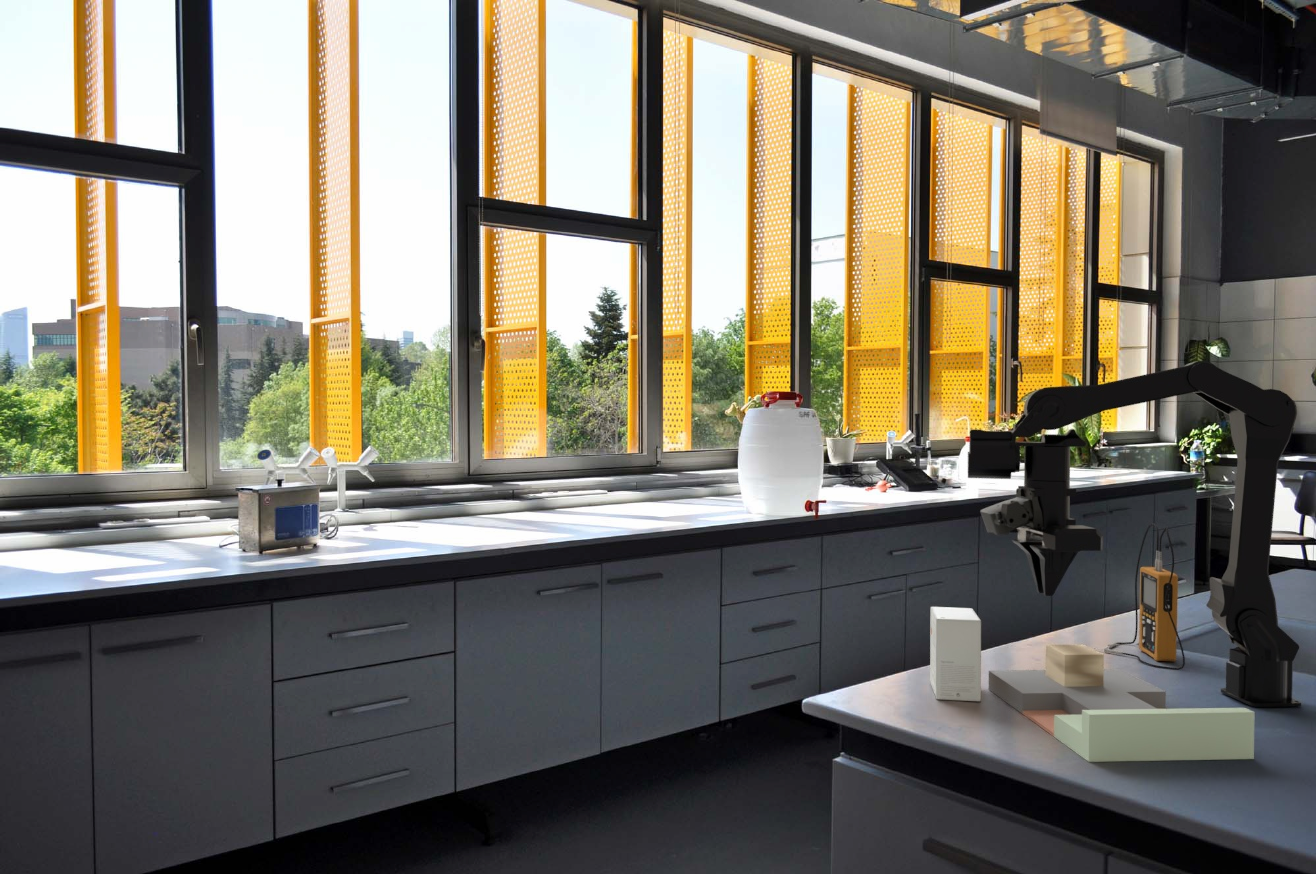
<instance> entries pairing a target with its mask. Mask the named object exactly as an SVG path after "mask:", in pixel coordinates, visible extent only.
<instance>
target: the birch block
mask: <svg viewBox="0 0 1316 874" xmlns="http://www.w3.org/2000/svg"><path fill="white" fill-rule="evenodd" d="M1104 664H1105V654H1104V653H1102V652H1100V651H1098V650H1097V649H1094V648H1093V647H1090V646H1087V645H1085V644H1082V643H1081V644H1079V643H1077V644H1045V670H1046V674H1045V675H1046V676H1047V677H1049V678H1051V679H1052V680H1054V681H1056V682H1057V683H1059V684H1061V685H1062V686H1064V687H1079V686H1103V680H1104V669H1105V668H1104V666H1105V665H1104Z"/></svg>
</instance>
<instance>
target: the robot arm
mask: <svg viewBox="0 0 1316 874" xmlns="http://www.w3.org/2000/svg"><path fill="white" fill-rule="evenodd" d="M1191 393H1192V394H1194V395H1196V396H1198V398H1200V399H1202V400H1204V401H1205V402H1206V403H1208V404H1210V405H1211V407H1212V406H1213V408H1215V409H1217V410H1219V411H1220V412H1222V413H1224V414H1226V415H1228V416H1229V425H1230V426H1229V427H1230V433H1231V436H1230V437H1231V440H1232V444H1233V446H1234V450H1235V453H1236V460H1237V464H1236V465H1237V466H1236V475H1235V476H1236V477H1235V487H1234V489H1235V490H1234V499H1233V512H1232V523H1231V532H1230V533H1231V534H1230V543H1229V545H1230V546H1229V547H1230V548H1229V555H1228V556H1229V557H1228V564H1227V566H1226V567H1227V568H1226V569H1225V570H1224V571H1225V572H1224V573H1223V576H1222V577H1221V578H1216V577H1213V576H1211V577H1210V578H1209V589H1210V592H1209V593H1210V596H1209V598H1208V602H1207V603H1206V605H1205V606H1206V608H1208V609H1209V610H1211V616H1212V618H1213V621H1214V622H1215V623H1216V625H1217V626H1219V628H1220V629H1222V630H1223V631H1224V632H1225V633H1227V635H1228V639H1229V641H1230V642H1231V644H1234V645H1235V646H1236V647H1234V648H1229V651H1228V652H1229V656H1228V657H1229V659H1228V660H1226V664H1225V669H1226V670H1225V687H1221V688H1220V693H1222V694H1224V695H1225V696H1227V697H1231V698H1233V699H1235V700H1237V701H1239V702H1241V703H1244V704H1245V705H1248V706H1251V707H1258V708H1263V707H1265V708H1267V707H1268V708H1269V707H1273V708H1274V707H1279V708H1280V707H1301V706H1302V705H1303V704H1302V701H1299V700H1297V699H1296V698H1293V682H1294V681H1293V678H1294V677H1293V676H1294V675H1293V674H1294V672H1293V671H1294V669H1293V668H1294V660H1295V659H1296V656H1297V653H1298V651H1299V650H1300V645H1299V644H1298V643H1297V642H1296V641H1295V640H1294V639H1293V638H1292V637H1291V636H1290V635H1288V634H1287V633H1286V632H1285V631H1284V630H1283V629H1282V628H1281V627H1280V626H1278V625H1279V620H1278V619H1279V618H1278V610H1277V602H1276V596H1275V593H1274V589H1273V586H1272V582H1271V578H1270V574H1269V569H1270V568H1269V566H1270V554H1271V544H1272V536H1273V535H1272V533H1273V522H1274V510H1275V499H1276V487H1277V480H1278V479H1277V477H1278V467H1279V462H1280V459H1281V457H1282V455H1283V453H1284V451H1285V449H1286V447H1287V445H1288V443H1289V442H1290V439H1291V437H1292V432H1293V429H1294V426H1295V422H1296V420H1297V414H1298V410H1297V404H1296V402H1295V400H1293V398H1292V397H1290V396H1289V395H1288V394H1287V393H1286V392H1284V391H1281V390H1279V389H1274V388H1268V389H1263V388H1261V387H1259V386H1257V385H1255V384H1254V383H1252V382H1250V381H1247V380H1246V379H1243V378H1241V377H1238V376H1236V375H1234V374H1232V373H1229V372H1227V371H1226V370H1223V369H1221V368H1219V367H1218V366H1217V365H1215V364H1213V363H1212V362H1211V361H1208V360H1207V361H1206V360H1201V361H1199V360H1198V361H1193V362H1190V363H1186V364H1185V365H1182V366H1180V367H1174V368H1170V369H1165V370H1160V371H1155V372H1151V373H1146V374H1142V375H1136V376H1134V377H1128V378H1123V379H1118V380H1114V381H1109V382H1105V383H1099V384H1089V385H1063V386H1049V387H1048V386H1047V387H1043V388H1040V389H1037V390H1034V391H1033V392H1031V393H1030V394H1029V395H1028V397H1027V398H1026V400H1025V402H1024V405H1023V415H1022V416H1021V417H1019V419H1018V420H1017V422H1016V423H1015V424H1012V428H1011V429H1010V430H983V429H976V428H975V429H970V430H969V445H968V446H969V447H968V448H969V449H968V450H969V451H967V478H968V479H995V480H996V479H997V480H1000V479H1001V480H1002V479H1003V480H1011V478H1012V474H1013V473H1016V472H1017V473H1018V472H1020V469H1021V447H1024V462H1023V463H1024V468H1023V469H1024V471H1023V474H1024V476H1023V477H1024V479H1023V481H1024V482H1023V485H1018V488H1016V491H1015V497H1013V498H1010V499H1007V500H1006V499H1005V500H1004V501H1001V502H997V503H995V504H993V505H990V506H987V507H985V508H982V509H980V511H979V512H980V515H981V517H982V520H983V524H984V526H985V529H986V533H988V534H994V535H995V536H997V537H998V536H1004V535H1005V536H1006V535H1007V536H1008V535H1009V534H1010V533H1017V538H1015V539H1011V542H1012V543H1014V544H1015V545H1017V546H1018V547H1019V548H1020V550H1022V551H1023V552H1024V553H1025V554H1026V555H1025V556H1026V558H1027V561H1028V564H1029V567H1030V571H1031V574H1032V578H1033V580H1034V585H1035V587H1036V591H1037V593H1039V594H1043V596H1046V597H1053V596H1054V595H1055V593H1056V592H1057V589H1058V588H1059V586H1060V584H1061V582H1062V580H1063V578H1064V576H1065V574H1066V573H1067V571H1068V569H1069V568H1070V566H1071V565H1072V563H1073V562H1074V559H1075V558H1076V556H1077V555H1078V554H1079V553H1081V552H1082V551H1083V552H1087V551H1089V552H1090V551H1095V552H1096V551H1104V549H1103V547H1104V546H1103V545H1104V536H1103V534H1102V533H1101V532H1100V531H1099V530H1098V529H1097V528H1095V527H1091V526H1087V525H1082V524H1081V525H1080V524H1078V525H1077V524H1076V523H1077V520H1076V519H1074V518H1070V503H1071V501H1070V497H1077V488H1075V487H1074V488H1073V487H1071V486H1070V485H1071V484H1070V483H1071V482H1070V480H1071V477H1070V475H1071V469H1070V468H1071V448H1085V447H1086V446H1087V442H1086V441H1085V440H1084V439H1082V438H1081V437H1080V436H1079V434H1078V432H1077V431H1076V430H1075V429H1074V428H1073V429H1072V428H1070V429H1069V430H1068V431H1067V432H1066V433H1065V434H1057V433H1056V434H1051V433H1050V434H1047V433H1046V434H1045V433H1044V434H1042V435H1041V441H1017V438H1031V437H1033V436H1034V435H1036V434H1037V433H1040V432H1041V431H1042V430H1044V431H1045V430H1046V431H1052V430H1053V431H1054V430H1055V431H1056V430H1058V429H1060V428H1064V427H1067V426H1069V425H1072V424H1074V423H1076V422H1079V421H1082V420H1084V419H1087V418H1089V417H1092V416H1093V415H1096V414H1099V413H1102V412H1104V411H1105V412H1106V411H1108V410H1110V411H1111V410H1114V409H1118V408H1123V407H1129V406H1134V405H1137V404H1138V405H1139V404H1144V403H1148V402H1153V401H1157V400H1163V399H1167V398H1173V397H1176V396H1177V397H1178V396H1181V395H1189V394H1191Z"/></svg>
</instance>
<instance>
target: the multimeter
mask: <svg viewBox="0 0 1316 874" xmlns="http://www.w3.org/2000/svg"><path fill="white" fill-rule="evenodd" d="M1152 526H1154V527H1155V529H1156V551H1155V552H1156V555H1155V560H1154V566H1142V567H1140V569H1139V565H1140V562H1141V561H1140V560H1141V555H1142V552H1143V551H1142V550H1143V547H1144V544H1145V542H1146V541H1145V540H1146V538H1147V535H1148V533H1149V531H1150V528H1151V527H1152ZM1165 532H1166V536H1167V539H1168V543H1169V546H1170V552H1171V559H1172V560H1171V561H1172V563H1171V565H1172V566H1171V571H1170V570H1168V569H1167V570H1166V569H1164V568H1163V559H1162V557H1163V555H1162V553H1163V552H1162V538H1163V536H1164V534H1165ZM1159 533H1160V532H1159V528H1158V525H1157V524H1155V523H1151V524H1149V525H1148V527H1147V528H1146V529H1145V533H1144V536H1143V539H1142V542H1141V545H1140V548H1139V553H1138V558H1137V564H1136V569H1135V578H1134V600H1135V601H1134V604H1135V632H1134V638H1133V640H1132V641H1130V642H1129V641H1127V642H1126V641H1125V642H1112V643H1111V644H1107V646H1106V647H1105V648H1099V647H1098V648H1097V647H1093V649H1094V650H1097V651H1098V650H1100V651H1104V653H1110V654H1116V655H1122V656H1123V655H1124V656H1129V657H1134V658H1137V660H1138V661H1139V662H1141V663H1142V664H1144V665H1148V666H1150V667H1154V668H1161V669H1166V670H1178V671H1179V670H1183V669H1184V667H1185V664H1186V660H1185V653H1184V647H1183V645H1182V642H1181V639H1180V637H1179V633H1178V597H1179V596H1178V593H1179V592H1178V589H1179V588H1178V586H1179V577H1178V575H1177V574H1176V573H1174V569H1175V554H1174V549H1173V544H1172V541H1171V537H1170V534H1169V526H1166V527H1165V528H1164V529H1163V530H1162V532H1161V534H1159ZM1159 535H1160V536H1159ZM1138 572H1140V573H1138ZM1138 574H1139V612H1138ZM1138 613H1139V617H1138ZM1138 618H1139V622H1138ZM1138 625H1139V626H1138ZM1138 627H1139V628H1138ZM1138 629H1139V631H1138ZM1138 634H1139V635H1138ZM1137 635H1138V636H1139V637H1138V644H1139V645H1138V647H1139V650H1140V651H1141V652H1142V653H1145V654H1147V655H1149V656H1150V657H1151V658H1153V660H1155V662H1176V661H1177V644H1179V647H1180V651H1181V655H1182V665H1181V667H1170V666H1162V665H1156V664H1151V663H1149V662H1146V661H1144V660H1142V659H1141V658H1140V656H1139V655H1136V654H1131V653H1126V652H1124V651H1121V650H1120V651H1119V650H1115V649H1112V648H1114V647H1115V646H1117V645H1132V644H1134V643H1135V642H1136V640H1137ZM1177 641H1178V643H1177Z"/></svg>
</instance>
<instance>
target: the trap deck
mask: <svg viewBox="0 0 1316 874" xmlns="http://www.w3.org/2000/svg"><path fill="white" fill-rule="evenodd" d="M1045 674H1046V669H1018V670H1017V669H1016V670H1014V669H1011V670H1009V669H1008V670H1007V669H1006V670H1005V669H1004V670H1002V669H1001V670H999V669H998V670H988V690H989V691H990V692H992V693H993V694H994V695H996V696H997V697H999V698H1000V699H1001V700H1003V701H1004V702H1005V703H1007V704H1008V705H1009V706H1011V707H1012V708H1013V709H1015V710H1016V711H1017V712H1019V713H1020V714H1022V715H1023V716H1025V717H1026V718H1027V719H1029V720H1030V721H1032V723H1034V724H1036V725H1037V726H1039V728H1041V729H1043V730H1044V731H1045V732H1047V733H1049V734H1050V736H1052V737H1054V738H1055V739H1056V740H1058V741H1059V742H1060V743H1062V744H1063V745H1064V746H1066V747H1068V748H1069V749H1070V750H1072V751H1073V752H1074V753H1076V754H1077V755H1079V756H1080V757H1081V758H1082V759H1084V760H1086V761H1087V762H1088V763H1095V762H1096V763H1097V762H1098V763H1099V762H1101V763H1102V762H1151V761H1153V762H1155V761H1158V762H1159V761H1205V760H1207V761H1210V760H1217V761H1218V760H1219V761H1220V760H1254V759H1255V754H1254V753H1255V718H1256V717H1255V711H1254V710H1251V709H1249V708H1246V707H1210V708H1209V707H1205V708H1203V707H1200V708H1197V707H1196V708H1195V707H1194V708H1193V707H1192V708H1191V707H1190V708H1166V706H1167V704H1166V702H1167V701H1166V700H1167V699H1166V696H1167V692H1166V691H1165V690H1163V689H1162V688H1159V687H1157V686H1156V685H1154V684H1151V683H1150V682H1148V681H1146V680H1143V679H1141V678H1139V677H1137V676H1135V675H1133V674H1131V673H1130V672H1128V671H1126V670H1123V669H1122V668H1104V680H1103V686H1079V687H1064V686H1062V685H1061V684H1059V683H1057V682H1056V681H1054V680H1052V679H1051V678H1049V677H1047V676H1046V675H1045Z"/></svg>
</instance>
